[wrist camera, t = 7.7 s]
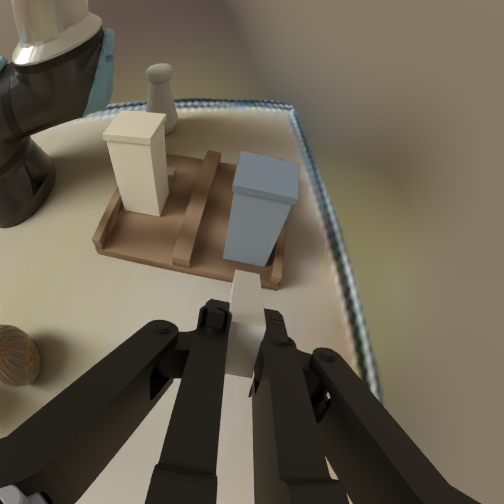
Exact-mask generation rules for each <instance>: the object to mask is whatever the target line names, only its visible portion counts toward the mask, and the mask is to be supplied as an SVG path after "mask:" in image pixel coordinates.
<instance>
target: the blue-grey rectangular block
mask: <svg viewBox="0 0 504 504" xmlns="http://www.w3.org/2000/svg"><path fill="white" fill-rule="evenodd" d="M298 190H299V164H298V163H294V162H290V161H286V160H282V159H277V158H273V157H269V156H264V155H259V154H255V153H250V152H245V151H241V153H240V157H239V161H238V165H237V169H236V173H235V177H234V181H233V185H232V192H234V195H233V200H232V206H231V212H230V218H229V224H228V230H227V236H226V242H225V248H224V254H223V259H227V260H232V261H237V262H242V263H248V264H253V265H258V266H263V267H265V265H266V263H267V261H268V258H269V256H270V254H271V252H272V249H273V247H274V245H275V243H276V240H277V238H278V236H279V234H280V231H281V229H282V227H283V225H284V222H285V220H286V218H287V216H288V213H289V211H290V209H291V207H292V204H293V205H296V203H297V200H298Z"/></svg>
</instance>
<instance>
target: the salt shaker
mask: <svg viewBox="0 0 504 504" xmlns="http://www.w3.org/2000/svg"><path fill="white" fill-rule="evenodd" d="M172 76H173V68H172V66H170V65H168V64H155V65H152V66H151V67H149V68H148V70H147V72H146V78H147V80H148V82H150V85H149V92H148V100H147V108H146V112H151V113H162V114H166V121H165V123H164V132H165V136H166V135H167V134H169V133H170V132H172V131H173V129H174V127H175V125H176V123H177V119H178V115H177V111H176V107H175V103H174V99H173V95H172V91H171V87H170V83H169V80H171V79H172Z"/></svg>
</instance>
